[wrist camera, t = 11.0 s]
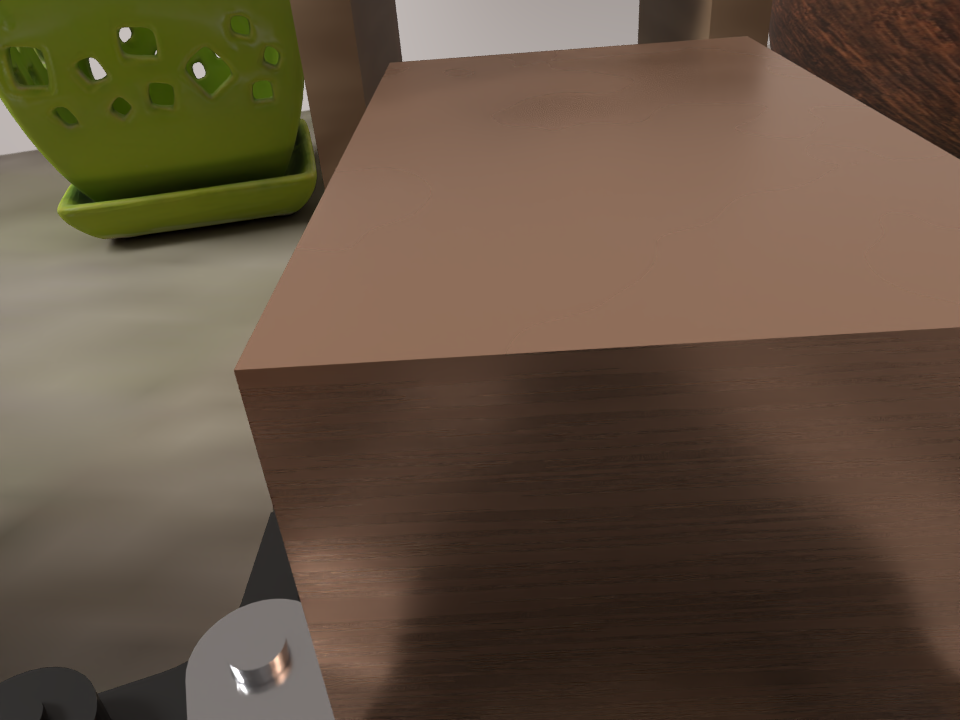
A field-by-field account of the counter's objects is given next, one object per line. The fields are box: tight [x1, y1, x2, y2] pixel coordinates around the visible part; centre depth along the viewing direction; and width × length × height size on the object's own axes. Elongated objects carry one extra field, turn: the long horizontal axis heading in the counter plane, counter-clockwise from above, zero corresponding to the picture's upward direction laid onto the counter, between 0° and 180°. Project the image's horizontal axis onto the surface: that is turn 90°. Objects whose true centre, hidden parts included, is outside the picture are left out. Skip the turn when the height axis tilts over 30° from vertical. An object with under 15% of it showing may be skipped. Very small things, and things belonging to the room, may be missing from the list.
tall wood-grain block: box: [234, 36, 960, 720], centre depth 13 cm, size 7×15×11 cm, turn 0°
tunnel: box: [290, 0, 772, 189], centre depth 25 cm, size 12×10×16 cm
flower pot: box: [0, 0, 317, 239], centre depth 38 cm, size 14×14×13 cm
